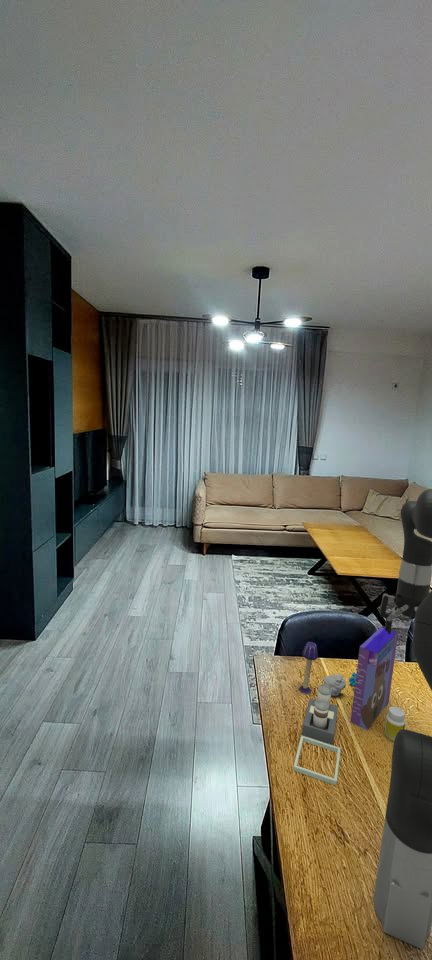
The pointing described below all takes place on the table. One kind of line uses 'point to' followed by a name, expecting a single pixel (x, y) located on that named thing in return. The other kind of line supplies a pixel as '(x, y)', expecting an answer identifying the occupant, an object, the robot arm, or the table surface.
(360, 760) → the table surface
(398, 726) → the supplement bottle
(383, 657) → the cereal box
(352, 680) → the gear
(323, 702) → the cylinder
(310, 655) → the toy lamp
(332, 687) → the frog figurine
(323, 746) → the pale green flat frame
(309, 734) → the fuse block
